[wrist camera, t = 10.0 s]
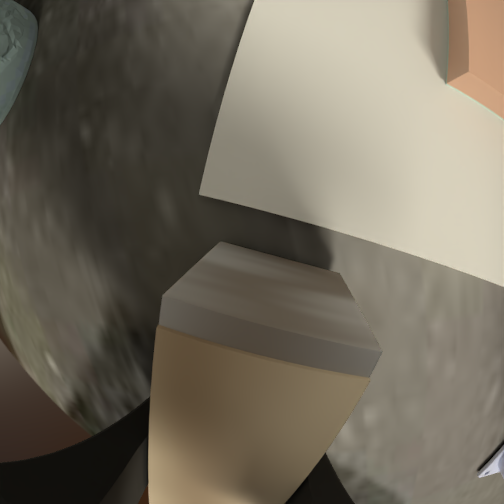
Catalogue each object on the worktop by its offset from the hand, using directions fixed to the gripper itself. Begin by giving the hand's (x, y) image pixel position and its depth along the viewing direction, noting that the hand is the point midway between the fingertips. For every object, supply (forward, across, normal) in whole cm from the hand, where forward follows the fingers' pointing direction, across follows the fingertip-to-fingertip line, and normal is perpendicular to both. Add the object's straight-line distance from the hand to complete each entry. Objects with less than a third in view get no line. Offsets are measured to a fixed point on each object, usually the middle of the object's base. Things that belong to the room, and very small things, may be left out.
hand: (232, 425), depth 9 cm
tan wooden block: (+2, 0, 0) cm, 2 cm away
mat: (+2, -8, -15) cm, 17 cm away
